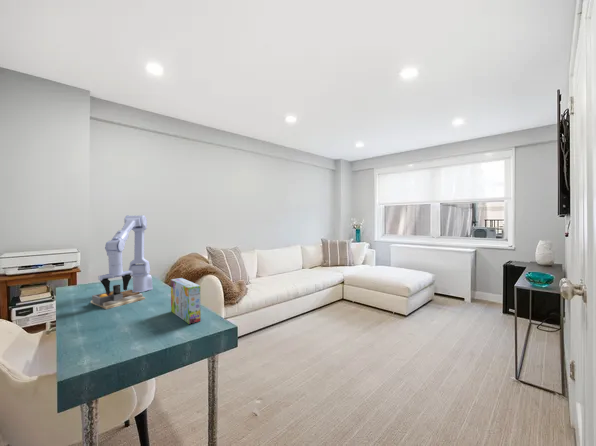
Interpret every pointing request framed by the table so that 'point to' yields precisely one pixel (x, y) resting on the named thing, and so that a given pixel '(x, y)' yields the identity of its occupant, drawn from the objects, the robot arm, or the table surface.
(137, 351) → the table surface
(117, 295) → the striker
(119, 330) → the table surface
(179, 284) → the snack box
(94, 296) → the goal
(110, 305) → the beige grooved board
